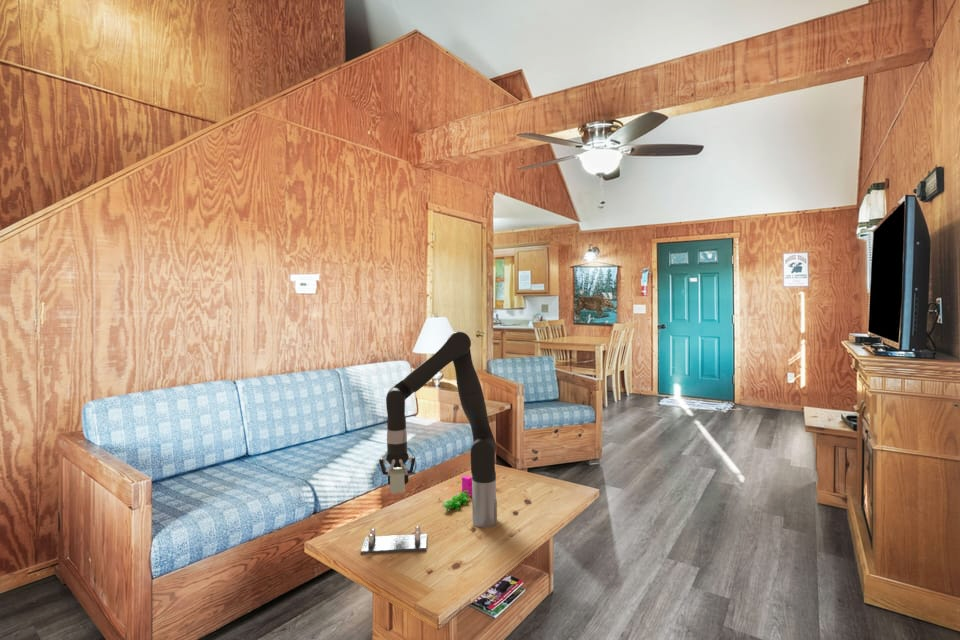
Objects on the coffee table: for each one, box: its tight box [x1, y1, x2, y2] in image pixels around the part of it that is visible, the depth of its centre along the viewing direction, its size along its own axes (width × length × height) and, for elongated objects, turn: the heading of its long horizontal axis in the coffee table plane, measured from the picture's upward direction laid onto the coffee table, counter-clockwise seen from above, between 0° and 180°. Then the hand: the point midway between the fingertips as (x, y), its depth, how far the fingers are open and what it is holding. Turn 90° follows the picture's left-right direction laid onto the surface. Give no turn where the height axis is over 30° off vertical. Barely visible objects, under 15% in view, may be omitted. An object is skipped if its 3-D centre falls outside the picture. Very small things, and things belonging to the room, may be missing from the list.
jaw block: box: [389, 467, 406, 494], centre depth 183 cm, size 5×12×7 cm, turn 6°
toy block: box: [461, 475, 472, 498], centre depth 217 cm, size 15×6×8 cm, turn 139°
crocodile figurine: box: [442, 490, 471, 512], centre depth 202 cm, size 7×18×4 cm, turn 149°
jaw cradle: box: [360, 525, 428, 555], centre depth 168 cm, size 22×10×5 cm, turn 95°
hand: (398, 484), depth 183 cm, fingers closed on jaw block, 5 cm apart
